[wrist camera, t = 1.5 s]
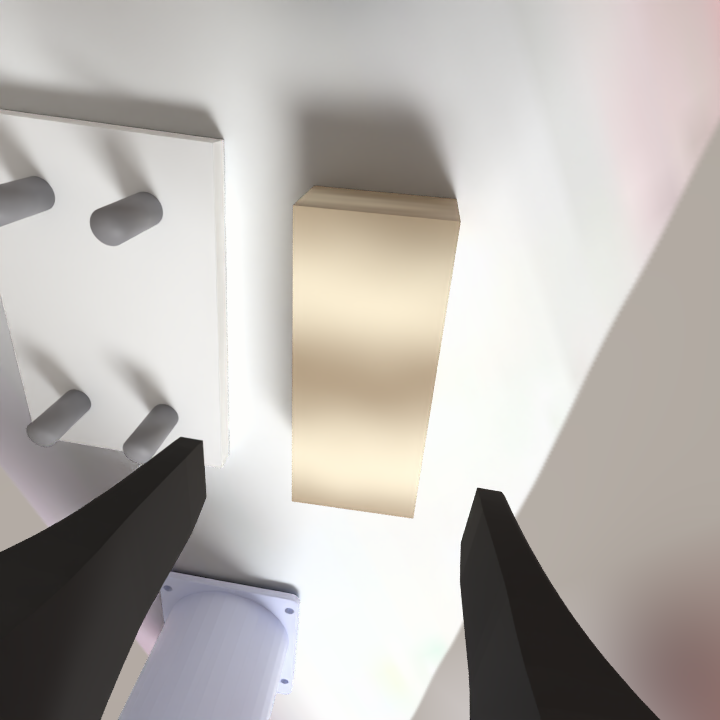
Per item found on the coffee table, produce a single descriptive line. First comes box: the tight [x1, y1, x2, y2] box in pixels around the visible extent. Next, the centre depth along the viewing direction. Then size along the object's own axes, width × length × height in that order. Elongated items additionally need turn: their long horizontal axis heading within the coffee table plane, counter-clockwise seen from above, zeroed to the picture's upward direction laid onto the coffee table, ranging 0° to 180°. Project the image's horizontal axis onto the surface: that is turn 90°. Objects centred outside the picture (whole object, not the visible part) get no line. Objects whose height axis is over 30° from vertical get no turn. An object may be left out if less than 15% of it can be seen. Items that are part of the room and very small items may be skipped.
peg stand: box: [0, 109, 229, 468], centre depth 20 cm, size 14×9×4 cm, turn 174°
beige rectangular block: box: [292, 186, 461, 518], centre depth 20 cm, size 12×5×4 cm, turn 176°
